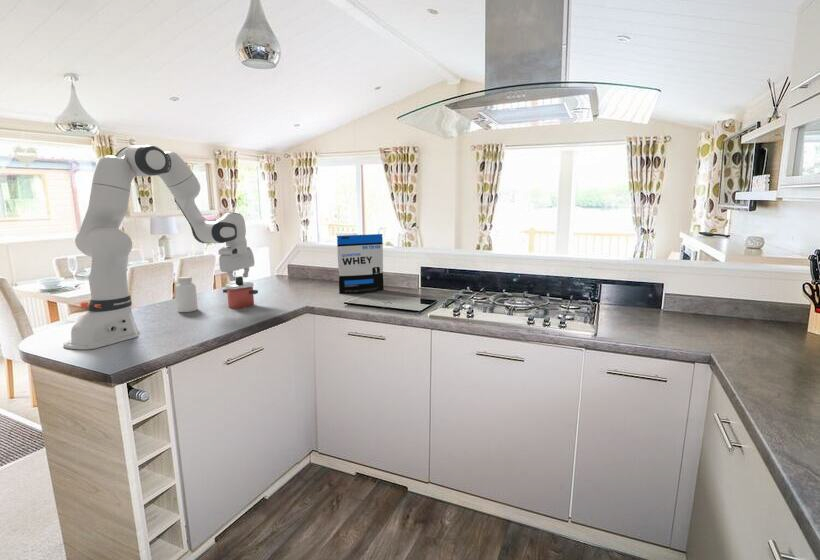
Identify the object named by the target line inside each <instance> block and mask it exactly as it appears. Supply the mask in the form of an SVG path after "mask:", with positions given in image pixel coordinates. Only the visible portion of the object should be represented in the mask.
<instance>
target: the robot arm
mask: <svg viewBox="0 0 820 560" xmlns="http://www.w3.org/2000/svg"><path fill="white" fill-rule="evenodd" d="M152 176H157V177H159V178H160V179H162V181H163V183H164V184H165V186H166V187H167V188H168V190H169V191H170V193H171V195H172V196H173V197H174V200H175V203H176V204H177V206H178V208H179V210H180V211H181V213H182V215H183V216H184V218H185V219H186V221H187V222H188V224H189V226H190V229H191V232H192V236H193V238H194V239H195V240H196V241H197V242H198V243H201V244H225V245H224V246H223V247H221V248H219V250H218V255H219V258H218V262H219V263H218V265H219V270H220V272H222V273H226V274H227V276H228V277H229V281H230V282H234V281H235V277H236V276H234V272H235V271H238V270H242V269H243V270H244V271H243V273H242V277H243V278H244V279H245V278H248V277H249V272H250V268H252V267H254V266H255V257H254V252H253V250H252V248H250V247H249V246H248V242H247V241H248V240H247V238H246V235H247V229H246V220H245V218H244V216H243V215H242V214H240V213H237V212H229V211H228V212H225V213H224V215H222V216H221V217H220V218H218V219H216V220H209V219H206V218H205V217H204V216H203V214H202V212H200V209H199V208H198V206H197V204H196V203H195V202H196V201H195V199H196V198H197V197H198V195H199V194H200V192H201V184H200V182H199V180H198V178H197V177H196V175H195V174H194V172H193V171H192V169H191V168H190V166H189V165H188V164H187V163H186V161H184V159H183V158H182V157H181V156H180V155H179V154H178V153H176V152H174V151H172V150H168V151H164V150H162V149H161V148H159V147H158V146H154V145H152V144H151V145H150V144H145V145H144V144H143V145H142V144H135V145H131V146H127V147H126V146H125V147H123V148H121V149H120V150H119V151H118V152H117V153H116V154H115V155H105V156H102V157H101V158H100V159H99V160H98V162H97V165H96V168H95V169H94V173H93V178H92V182H91V188H90V194H89V201H88V206H87V210H86V213H85V216H84V217H83V221H82V223H81V226H80V228H79V232H78V233H77V234H76V236H75V240H74V242H75V243H74V244H75V246H76V249H78V250H79V251H80V252H81V253H82V254H83V255H86V256H87V257H90V258H91V266H90V267H91V268H90V273H89V275H88V283H89V289H90V297H91V298H90V301H89V302H85V301H82V302H80V304H79V307H80V308H82V309H87V312H85V314H83V316H82V317H81V318H80V319H79V320H78V321H77V322H76V323H75V324H73V326H72V328H71V331H70V340H68V341H66V342H63V347H64V348H66V349H69V350H72V349H73V350H93V349H94V350H95V349H98V348H99V349H100V348H102V347H106V346H110V345H114V344H116V343H119V342H124V341H127V340H130V339H134V338H138V337H139V333H140V330H139V328H138V327H137V323H136V322H135V318H134V314H133V311H132V305H133V303H132V297H131V295H130V292H129V283H128V274H127V271H128V262H129V256H130V255H129V254H130V252H131V251H132V249H133V242H132V238H131V237H130V236H129V234H127V233H126V232H125V231H122V230H121V229H120V226H121V224H122V221H123V220H124V218H125V216H127V213H128V208H129V203H130V202H129V201H130V195H131V186H132V182H133V179H134V178H135V177H144V178H145V177H146V178H147V177H152ZM235 282H236V281H235Z"/></svg>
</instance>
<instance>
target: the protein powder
mask: <svg viewBox="0 0 820 560" xmlns="http://www.w3.org/2000/svg"><path fill="white" fill-rule="evenodd" d="M336 240H337V241H336V244H337V246H336V247H337V263H338V264H337V265H338V267H337V268H338V287H339V288H338V290H339V291H338V292H339V294H341V295H342V294H343V295H361V294H371V293H376V292H380V291H385V290H384V287H385V286H384V249H383V247H384V244H383V243H384V242H383V234H382V233H378V234H377V233H375V234H374V233H372V234H352V235H350V234H349V235H348V234H347V235H346V234H345V235H336Z"/></svg>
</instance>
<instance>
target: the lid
mask: <svg viewBox="0 0 820 560" xmlns="http://www.w3.org/2000/svg"><path fill="white" fill-rule="evenodd" d="M234 277H235V282H232V283H228V284H227V283H226V284H225V289H245V288H250V287H253V288H254V282H250V281H244V277H243V275H242V276H234Z"/></svg>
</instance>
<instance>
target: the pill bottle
mask: <svg viewBox="0 0 820 560" xmlns="http://www.w3.org/2000/svg"><path fill="white" fill-rule="evenodd" d="M177 279H178V281H177V282H178V283H177V284H176V285H175V298H176V305H177V311H178V312H180V313H191V312H195V311H198V308H199V307H198V306H199V305H198V298H197V287H196V286H197V285H196V283H194V282H192V281H193V277H192V276H180V277H178V278H177Z"/></svg>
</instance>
